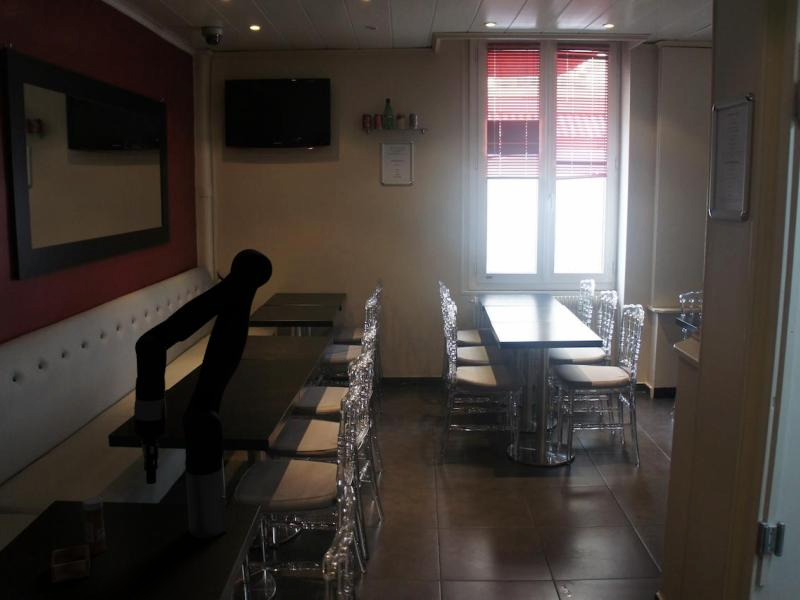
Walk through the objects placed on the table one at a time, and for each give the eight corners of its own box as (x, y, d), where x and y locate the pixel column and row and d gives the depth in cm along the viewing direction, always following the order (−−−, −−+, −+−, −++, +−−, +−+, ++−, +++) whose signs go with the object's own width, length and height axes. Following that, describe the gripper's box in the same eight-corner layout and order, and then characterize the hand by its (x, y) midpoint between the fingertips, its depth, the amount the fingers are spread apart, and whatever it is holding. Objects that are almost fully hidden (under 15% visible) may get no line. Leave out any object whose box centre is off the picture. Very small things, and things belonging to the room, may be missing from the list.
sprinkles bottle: (108, 551, 185) (104, 500, 183) (88, 556, 183) (84, 505, 180) (104, 543, 189) (100, 494, 187) (84, 548, 187) (80, 498, 184)
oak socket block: (90, 559, 182) (88, 544, 181) (90, 576, 175) (88, 560, 174) (53, 565, 179) (52, 550, 178) (52, 583, 172) (50, 567, 171)
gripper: (168, 422, 180) (168, 486, 183) (163, 405, 193) (163, 464, 196) (135, 425, 177) (135, 489, 180) (132, 406, 190) (132, 467, 193)
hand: (149, 476), depth 188 cm, fingers open, 8 cm apart
